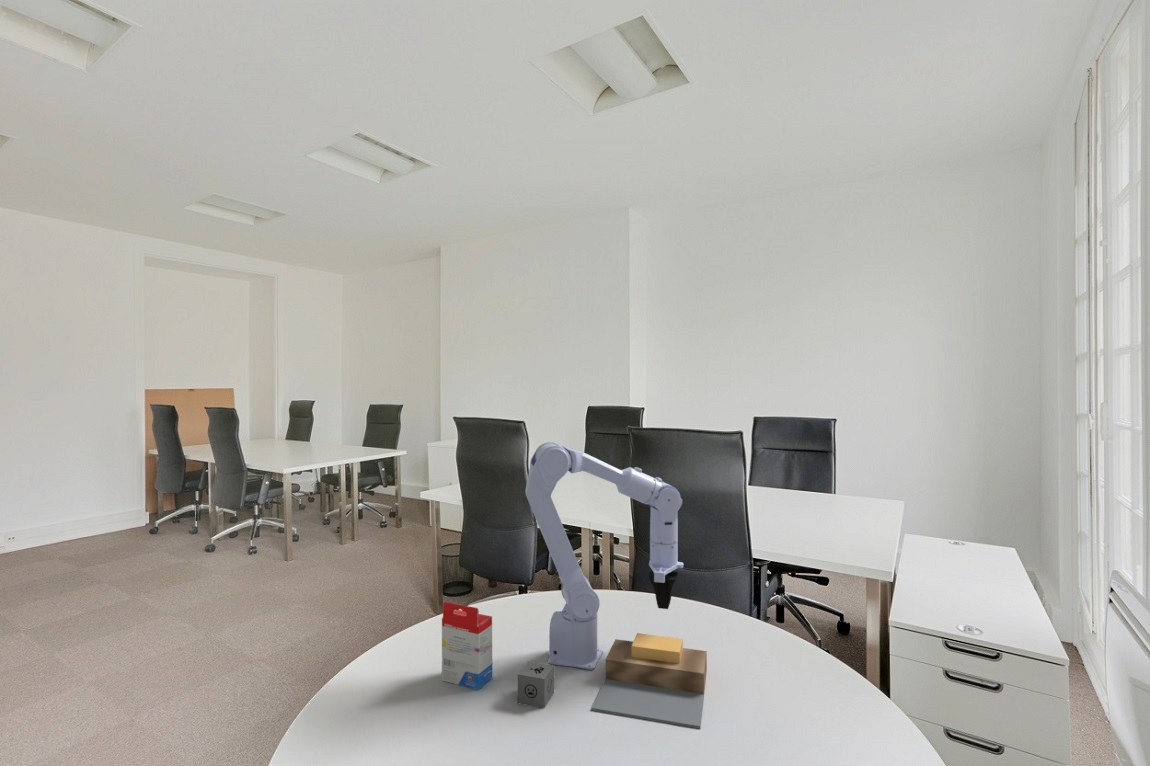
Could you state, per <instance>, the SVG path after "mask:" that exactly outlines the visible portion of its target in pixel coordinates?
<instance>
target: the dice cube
mask: <svg viewBox="0 0 1150 766" xmlns="http://www.w3.org/2000/svg"><path fill="white" fill-rule="evenodd" d="M554 694H555V664H550V663H548V664H547V663H541V662H535V661H529V660H528V661H527V662H526V664H524V666H523V667H522V668H521V670H520V671H519V672H518V674H517V696H516V697H517V703H516V704H519V703H520V704H519V705H524V704H526V706H530V707H536V708H542V709H545V708H546V707H547V705H548V703H549V702H550V700H551V699H552V697H553V696H554Z"/></svg>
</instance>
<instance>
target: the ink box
mask: <svg viewBox="0 0 1150 766" xmlns="http://www.w3.org/2000/svg"><path fill="white" fill-rule="evenodd" d="M479 612H480V611H479V608H478V607H474V606H469V605H464V604H459V603H453V602H447V601H443V604H442V618H441V680H442V681H443V682H446V683H452V684H455V685H459V686H462V687H466V688H469V689H472V690H477V691H479V690H480V689H482V687H483V686H485V685H486V684H487V683H489V681H490V680H492V679H493V616H492V615H487V614H481V613H479Z"/></svg>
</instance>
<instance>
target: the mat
mask: <svg viewBox="0 0 1150 766" xmlns="http://www.w3.org/2000/svg"><path fill="white" fill-rule="evenodd" d="M599 689H600V690H599V691H598V693H597V696H596V698H595V699H594V702H593V704H592V706H591V711H594V712H599V713H605V714H611V715H617V716H622V717H623V716H624V717H630V718H635V719H642V720H647V721H653V722H658V723H659V722H660V723H663V724H664V723H665V724H669V725H677V726H682V727H687V728H688V727H689V728H695V729H701V726H702V725H701V724H702V717H703V709H704V707H703V706H704V698H705V693H704V694H701V693H694V692H688V691H681V690H675V689H668V688H661V687H655V686H648V685H642V684H635V683H629V682H622V681H615V680H609V679H605V678H604V681H603V683H602V685H601V687H600V688H599Z"/></svg>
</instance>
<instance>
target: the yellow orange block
mask: <svg viewBox="0 0 1150 766" xmlns="http://www.w3.org/2000/svg"><path fill="white" fill-rule="evenodd" d="M683 640H684V639H683V638H678V637H672V636H670V637H669V636H664V635H655V634H654V635H653V634H649V633H640V632H637V633H636V635H635V637H634V639H633V644H632V657H637V658H644V659H652V660H659V661H666V662H673V663H680V660H681V655H682V650H683V648H684V647H683V646H684V642H683Z"/></svg>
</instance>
